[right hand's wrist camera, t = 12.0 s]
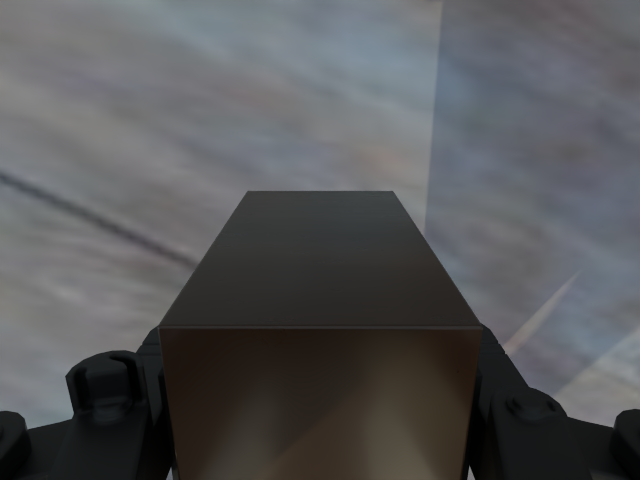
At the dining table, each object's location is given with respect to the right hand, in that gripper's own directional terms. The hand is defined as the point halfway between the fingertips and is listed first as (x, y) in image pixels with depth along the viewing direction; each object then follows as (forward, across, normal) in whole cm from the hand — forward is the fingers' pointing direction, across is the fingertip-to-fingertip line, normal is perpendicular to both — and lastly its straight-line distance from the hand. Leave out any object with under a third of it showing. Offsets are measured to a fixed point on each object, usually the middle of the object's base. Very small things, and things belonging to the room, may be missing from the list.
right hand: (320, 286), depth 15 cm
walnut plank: (0, 0, -10) cm, 10 cm away
